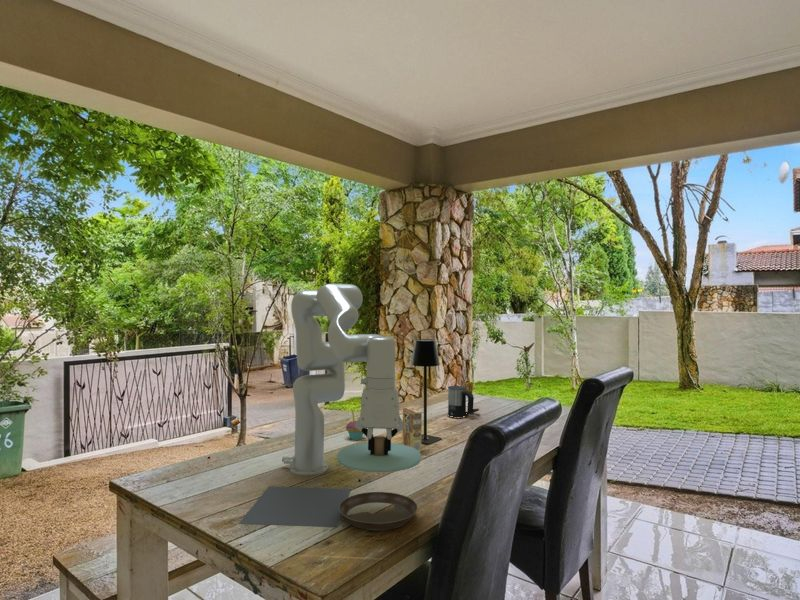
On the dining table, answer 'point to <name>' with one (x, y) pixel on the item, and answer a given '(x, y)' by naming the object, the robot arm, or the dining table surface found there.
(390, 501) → the plant saucer
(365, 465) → the lid
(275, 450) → the dining table surface
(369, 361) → the robot arm
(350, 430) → the cupcake
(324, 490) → the mat
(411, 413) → the candy box
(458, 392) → the milk frother
